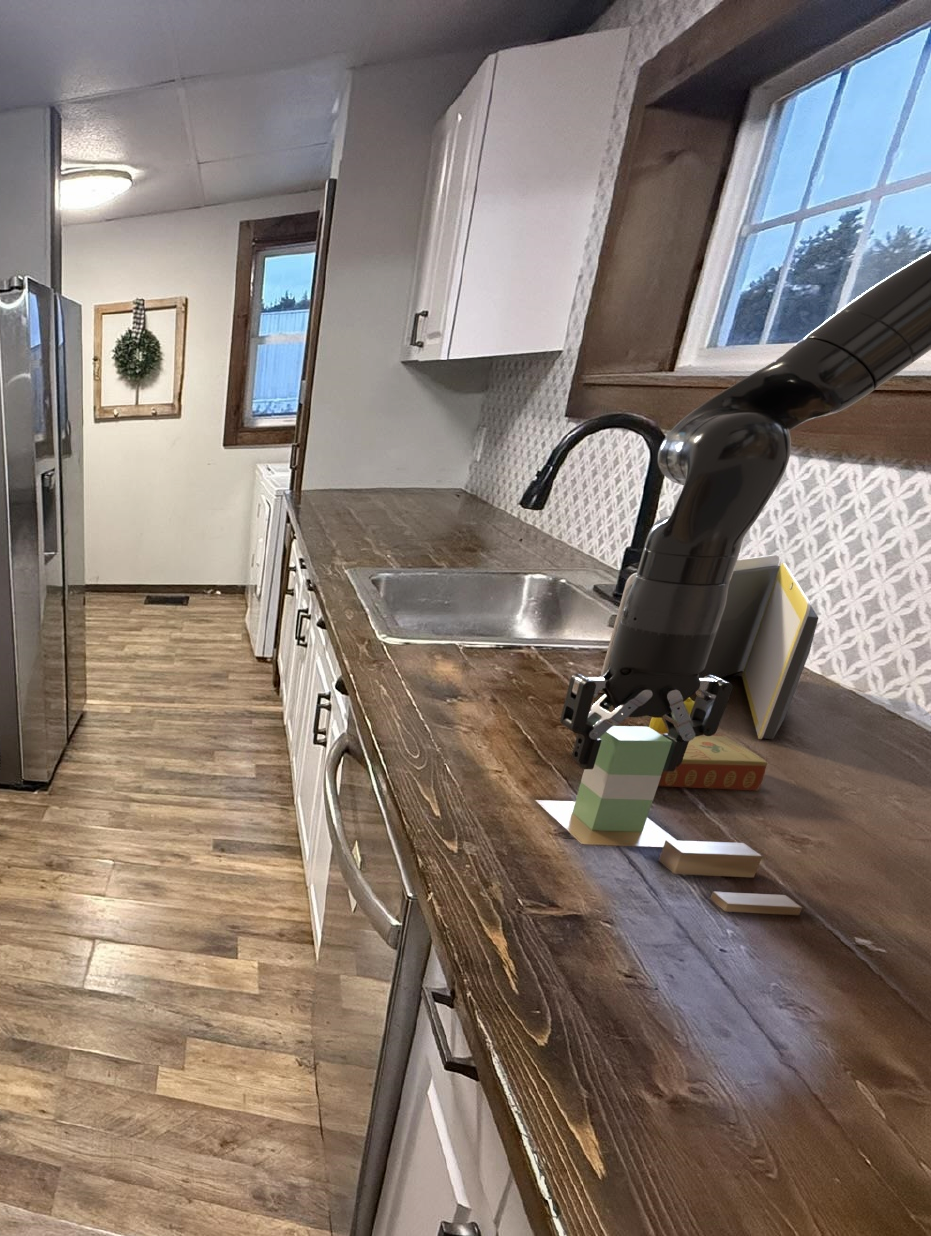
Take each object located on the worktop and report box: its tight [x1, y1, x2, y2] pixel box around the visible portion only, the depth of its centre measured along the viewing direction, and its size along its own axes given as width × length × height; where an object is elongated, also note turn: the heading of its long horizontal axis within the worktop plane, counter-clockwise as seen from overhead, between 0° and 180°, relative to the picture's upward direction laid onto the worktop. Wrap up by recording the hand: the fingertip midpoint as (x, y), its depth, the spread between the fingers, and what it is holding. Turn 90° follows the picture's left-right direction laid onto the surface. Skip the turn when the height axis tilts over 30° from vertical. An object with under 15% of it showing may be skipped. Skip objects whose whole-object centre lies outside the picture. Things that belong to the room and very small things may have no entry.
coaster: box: [534, 799, 677, 849], centre depth 87 cm, size 10×10×1 cm
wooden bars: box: [658, 839, 803, 916], centre depth 75 cm, size 9×7×3 cm
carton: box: [658, 733, 768, 791], centre depth 96 cm, size 8×16×4 cm, turn 78°
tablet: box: [598, 554, 819, 740], centre depth 117 cm, size 35×22×20 cm, turn 142°
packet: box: [572, 725, 672, 832], centre depth 85 cm, size 11×5×10 cm
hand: (623, 767), depth 84 cm, fingers open, 7 cm apart
